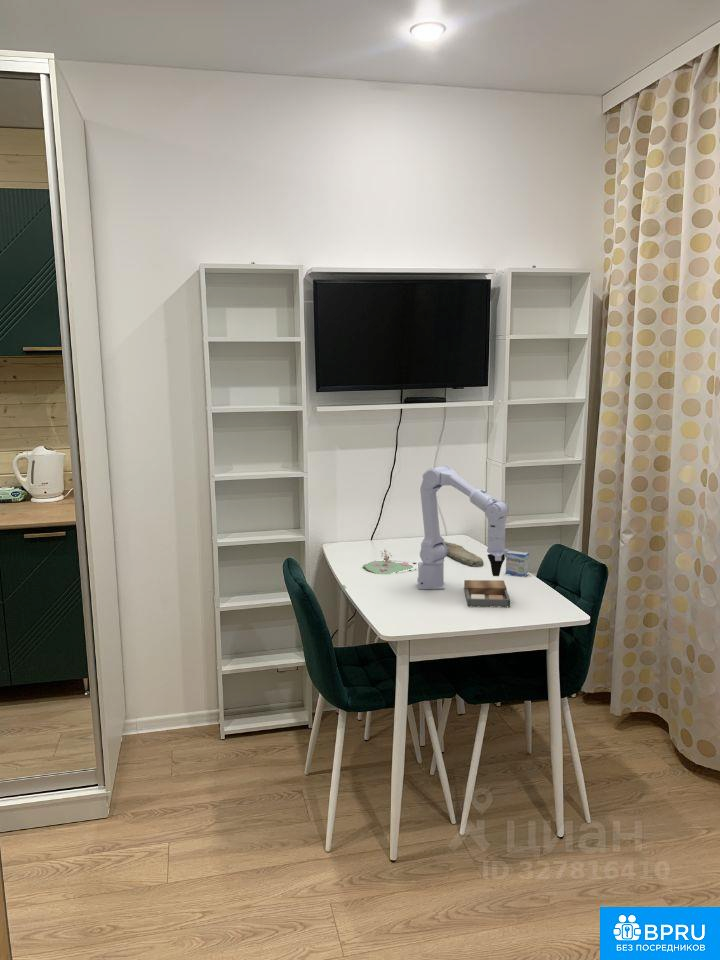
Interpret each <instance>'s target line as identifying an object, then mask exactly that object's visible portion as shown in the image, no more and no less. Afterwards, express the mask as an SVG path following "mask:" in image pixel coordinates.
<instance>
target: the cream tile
mask: <svg viewBox="0 0 720 960" xmlns="http://www.w3.org/2000/svg"><path fill="white" fill-rule="evenodd" d="M471 599H485V595H481V594H471Z"/></svg>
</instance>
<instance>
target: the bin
mask: <svg viewBox="0 0 720 960" xmlns="http://www.w3.org/2000/svg"><path fill="white" fill-rule="evenodd" d="M502 597H503V599H489V596H486V595H485V599H471V595H469V591H468V589H466V595H465V598H466V599H465V600H466V605H467V607H470V606H472V607H470V608H473V606H474V607H477V606H480V607H484V608H486V607H485V606H488V607H487V608H491V607H490V606H493V607H492V608H498V607H497V606H501V607H500V608H511V599H510V596H509V592H508V590H504V596H502ZM494 606H495V607H494ZM507 606H508V607H507Z"/></svg>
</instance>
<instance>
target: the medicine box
mask: <svg viewBox="0 0 720 960" xmlns="http://www.w3.org/2000/svg"><path fill="white" fill-rule="evenodd" d="M529 567H530V552H526V551H525V552H523V551H518V550H516V551H515V550H508V552H505V575H506V574H511V575H510V576H514V575H518V576H517V577H522V576H526V575H527V576H528V575H529V574H527V573H529V572H530V571H529V570H530V569H529ZM527 576H526V577H527Z"/></svg>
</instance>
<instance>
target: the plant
mask: <svg viewBox="0 0 720 960" xmlns="http://www.w3.org/2000/svg"><path fill="white" fill-rule="evenodd" d="M383 550H384V551H383V552H382V550H380V552H379V553H381V557H383V561H376V560H374V561H370V562H367V563H368V564H367V563H364V564H363V565H362V567H363V568H365V569H366V570H367V571H369V572H370V573H372V574H376V573H377V575H392V574H391V573H393V572H399V571H403V570H406V569H407V570H408V569H411V568H413V566H412V565H409V564H408V563H407V562H408V561H402V562H403V563H395V562H391V561H392V560H390V558H391V557H392V556H393V554H390V552H389V553H388V551H387V550H386V549H383ZM389 555H390V556H389ZM384 560H385V561H384Z"/></svg>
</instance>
